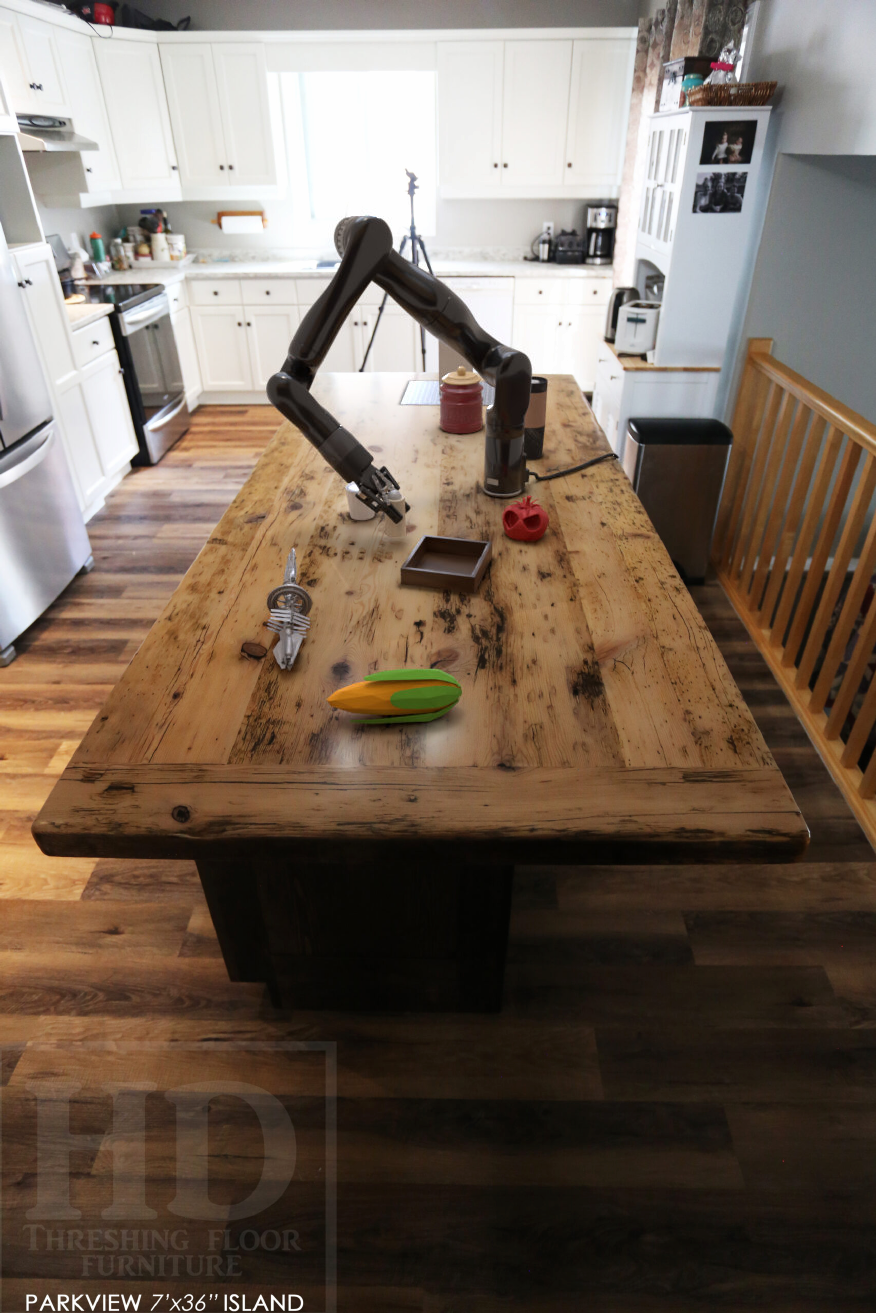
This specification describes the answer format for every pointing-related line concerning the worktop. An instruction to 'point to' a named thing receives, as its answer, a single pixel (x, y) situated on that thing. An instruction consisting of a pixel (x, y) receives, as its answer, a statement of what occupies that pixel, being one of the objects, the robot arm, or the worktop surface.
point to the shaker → (399, 504)
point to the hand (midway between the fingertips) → (403, 515)
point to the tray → (447, 563)
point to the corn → (400, 695)
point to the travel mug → (535, 419)
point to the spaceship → (289, 614)
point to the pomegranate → (525, 520)
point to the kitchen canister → (461, 402)
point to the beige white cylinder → (357, 504)
